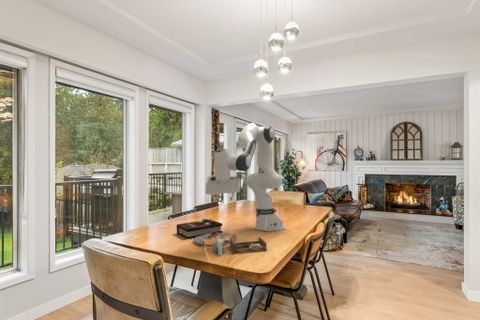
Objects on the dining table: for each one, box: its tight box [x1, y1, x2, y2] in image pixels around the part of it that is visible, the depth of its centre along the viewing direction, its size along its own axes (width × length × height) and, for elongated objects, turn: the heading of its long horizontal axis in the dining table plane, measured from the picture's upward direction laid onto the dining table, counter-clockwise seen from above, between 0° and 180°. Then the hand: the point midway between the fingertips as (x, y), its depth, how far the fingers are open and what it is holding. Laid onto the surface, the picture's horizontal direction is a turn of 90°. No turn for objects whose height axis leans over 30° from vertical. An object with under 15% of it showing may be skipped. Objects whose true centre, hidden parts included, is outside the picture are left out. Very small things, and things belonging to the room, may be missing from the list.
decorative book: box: [176, 218, 223, 240], centre depth 182 cm, size 19×8×30 cm
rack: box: [229, 236, 267, 255], centre depth 145 cm, size 17×12×5 cm
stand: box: [212, 244, 226, 255], centre depth 142 cm, size 7×8×4 cm
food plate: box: [193, 232, 237, 246], centre depth 163 cm, size 25×23×4 cm
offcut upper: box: [250, 244, 261, 248], centre depth 144 cm, size 4×3×1 cm
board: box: [215, 236, 223, 256], centre depth 141 cm, size 11×2×7 cm, turn 12°
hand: (223, 200), depth 158 cm, fingers open, 8 cm apart
